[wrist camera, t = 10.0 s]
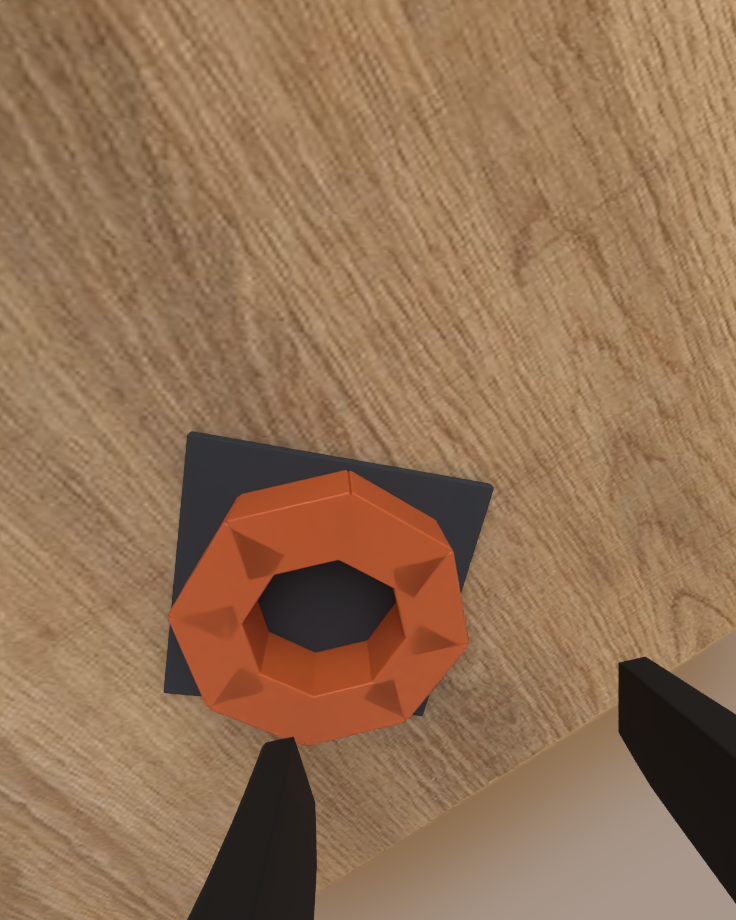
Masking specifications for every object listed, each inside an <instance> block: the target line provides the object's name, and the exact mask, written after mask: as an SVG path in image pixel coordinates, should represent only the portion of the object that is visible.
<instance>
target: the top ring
mask: <svg viewBox="0 0 736 920" xmlns="http://www.w3.org/2000/svg"><path fill="white" fill-rule="evenodd" d="M335 560H340V561H342V562H344V563H346V564H348V565H350V566H352V567H354V568H356V569H358V570H360V571H362V572H364V573H365V574H367V575H369V576H371V577H373V578H375V579H377V580H379V581H381V582H383V583H385V584H387V585H389V586H391V587H392V588H393V591H394V596H395V600H396V603H395V604H394V605H393V607H392V608H391V609H390V611H389V612H388V614H387V615H386V616H385V618H384V619H383V620H382V622H381V623H380V624H379V626H378V627H377V628H376V630H375V631H374V632H373V634H372V635H371V636H370V638H369V639H368V640H367V641H362V642H358V643H354V644H350V645H346V646H341V647H337V648H333V649H329V650H325V651H321V652H316V653H315V652H313V651H311V650H308V649H306V648H304V647H302V646H300V645H297V644H295V643H293V642H291V641H288V640H286V639H284V638H282V637H280V636H277V635H275V634H273V633H271V632H269V631H268V628H267V625H266V623H265V620H264V617H263V614H262V611H261V608H260V605H259V603H258V599H259V597H260V596H261V594H262V593H263V591H264V590H265V588H266V586H267V585H268V583H269V582H270V580H271V579H272V577H273V576H274V575H276V574H280V573H284V572H289V571H293V570H297V569H301V568H306V567H310V566H314V565H318V564H323V563H327V562H331V561H335ZM168 616H169V622H170V625H171V627H172V629H173V631H174V634H175V636H176V638H177V641H178V643H179V645H180V647H181V650H182V652H183V654H184V657H185V659H186V661H187V663H188V666H189V668H190V670H191V673H192V675H193V677H194V679H195V682H196V684H197V686H198V689H199V691H200V693H201V695H202V698H203V700H204V702H205V705H206V706H207V707H209V709H210V710H213V711H215V712H218V713H220V714H223V715H225V716H228V717H230V718H233V719H236V720H238V721H241V722H243V723H246V724H248V725H251V726H254V727H256V728H259V729H261V730H264V731H266V732H269V733H272V734H274V735H277V736H279V737H282V738H289V737H293V736H294V739H295V742H296V743H297V744H300V745H304V744H306V746H309V745H313V744H317V743H321V742H325V741H329V740H334V739H338V738H342V737H346V736H350V735H354V734H358V733H362V732H367V731H371V730H375V729H379V728H383V727H387V726H391V725H395V724H399V723H404V722H405V721H406V719H409V718H410V717H411V716H412V714H413V713H414V712H415V711H416V710H417V708H418V707H419V706H420V705H421V703H422V702H423V701H424V700H425V699H426V697H427V696H428V695H429V694H430V692H431V691H432V690H433V689H434V688H435V686H436V685H437V684H438V683H439V681H440V680H441V679H442V678H443V676H444V675H445V674H446V673H447V672H448V670H449V669H450V668H451V667H452V665H453V664H454V663H455V662H456V661H457V659H458V658H459V657H460V656H461V654H462V653H463V652H464V651H465V649H466V648H467V644H468V641H469V640H468V634H467V628H466V622H465V616H464V610H463V604H462V598H461V592H460V587H459V581H458V575H457V569H456V563H455V557H454V552H453V550H452V548H451V547H450V545H449V543H448V541H447V539H446V538H445V536H444V534H443V532H442V530H441V529H440V527H439V525H438V523H437V521H436V520H435V519H433V518H431V517H430V516H428V515H426V514H424V513H423V512H421V511H419V510H418V509H416V508H414V507H412V506H411V505H409V504H407V503H406V502H404V501H402V500H400V499H399V498H397V497H395V496H394V495H392V494H390V493H388V492H387V491H385V490H383V489H381V488H380V487H378V486H376V485H375V484H373V483H371V482H369V481H368V480H366V479H364V478H363V477H361V476H359V475H357V474H356V473H354V472H352V471H349V472H348V471H347V470H344V471H340V472H335V473H331V474H327V475H322V476H318V477H314V478H309V479H305V480H301V481H296V482H292V483H288V484H283V485H279V486H275V487H270V488H266V489H262V490H257V491H253V492H249V493H244V494H241V495H240V497H239V496H238V497H237V498H236V500H235V502H234V503H233V505H232V507H231V508H230V510H229V512H228V513H227V515H226V517H225V518H224V520H223V522H222V523H221V525H220V527H219V528H218V530H217V532H216V533H215V535H214V537H213V538H212V540H211V542H210V543H209V545H208V547H207V548H206V550H205V552H204V553H203V555H202V557H201V558H200V560H199V562H198V563H197V565H196V567H195V568H194V570H193V572H192V574H191V575H190V577H189V579H188V580H187V582H186V584H185V586H184V587H183V589H182V591H181V593H180V594H179V596H178V598H177V600H176V602H175V603H174V605H173V607H172V609H171V610H170V612H169V614H168Z"/></svg>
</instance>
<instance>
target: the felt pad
mask: <svg viewBox="0 0 736 920" xmlns="http://www.w3.org/2000/svg"><path fill="white" fill-rule="evenodd" d="M344 470H347V471H348V472H349V471H352V472H354V473H356V474H357V475H359V476H361V477H363V478H364V479H366V480H368V481H369V482H371V483H373V484H375V485H376V486H378V487H380V488H381V489H383V490H385V491H387V492H388V493H390V494H392V495H394V496H395V497H397V498H399V499H400V500H402V501H404V502H406V503H407V504H409V505H411V506H412V507H414V508H416V509H418V510H419V511H421V512H423V513H424V514H426V515H428V516H430V517H431V518H433V519H435V520H436V521H437V523H438V525H439V527H440V529H441V530H442V532H443V534H444V536H445V538H446V539H447V541H448V543H449V545H450V547H451V548H452V550H453V552H454V557H455V563H456V569H457V575H458V581H459V587H460V592H461V591H462V588H463V585H464V582H465V578H466V575H467V572H468V569H469V566H470V562H471V559H472V556H473V553H474V550H475V546H476V543H477V540H478V537H479V534H480V530H481V527H482V524H483V521H484V518H485V515H486V511H487V508H488V505H489V502H490V499H491V495H492V492H493V489H494V487H493V486H492V485H491V484H489V483H483V482H477V481H472V480H466V479H460V478H454V477H449V476H443V475H437V474H432V473H426V472H420V471H415V470H409V469H403V468H398V467H392V466H386V465H380V464H375V463H369V462H363V461H358V460H352V459H346V458H341V457H335V456H329V455H324V454H318V453H312V452H306V451H301V450H295V449H289V448H284V447H278V446H272V445H267V444H261V443H255V442H250V441H244V440H238V439H232V438H227V437H221V436H215V435H210V434H204V433H198V432H193V431H192V432H190V433H189V434H188V435H187V444H186V455H185V466H184V477H183V488H182V498H181V509H180V520H179V531H178V542H177V553H176V564H175V575H174V585H173V596H172V607H173V605H174V603H175V602H176V600H177V598H178V596H179V594H180V593H181V591H182V589H183V587H184V586H185V584H186V582H187V580H188V579H189V577H190V575H191V574H192V572H193V570H194V568H195V567H196V565H197V563H198V562H199V560H200V558H201V557H202V555H203V553H204V552H205V550H206V548H207V547H208V545H209V543H210V542H211V540H212V538H213V537H214V535H215V533H216V532H217V530H218V528H219V527H220V525H221V523H222V522H223V520H224V518H225V517H226V515H227V513H228V512H229V510H230V508H231V507H232V505H233V503H234V502H235V500H236V498H237V497H238V496H239V497H240V495H241V494H244V493H249V492H253V491H257V490H262V489H266V488H270V487H275V486H279V485H283V484H288V483H292V482H296V481H301V480H305V479H309V478H314V477H318V476H322V475H327V474H331V473H335V472H340V471H344ZM258 603H259V605H260V608H261V611H262V614H263V617H264V620H265V623H266V625H267V628H268V631H269V632H271V633H273V634H275V635H277V636H280V637H282V638H284V639H286V640H288V641H291V642H293V643H295V644H297V645H300V646H302V647H304V648H306V649H308V650H311V651H313V652H315V653H316V652H321V651H325V650H329V649H333V648H337V647H341V646H346V645H350V644H354V643H358V642H362V641H367V640H368V639H369V638H370V636H371V635H372V634H373V632H374V631H375V630H376V628H377V627H378V626H379V624H380V623H381V622H382V620H383V619H384V618H385V616H386V615H387V614H388V612H389V611H390V609H391V608H392V607H393V605H394V604H395V603H396V600H395V596H394V591H393V588H392V587H391V586H389V585H387V584H385V583H383V582H381V581H379V580H377V579H375V578H373V577H371V576H369V575H367V574H365V573H364V572H362V571H360V570H358V569H356V568H354V567H352V566H350V565H348V564H346V563H344V562H342V561H340V560H335V561H331V562H327V563H323V564H318V565H314V566H310V567H306V568H301V569H297V570H293V571H289V572H284V573H280V574H276V575H274V576H273V577H272V579H271V580H270V582H269V583H268V585H267V586H266V588H265V590H264V591H263V593H262V594H261V596H260V597H259V599H258ZM172 607H171V609H172ZM164 693H170V694H181V695H193V696H202V695H201V693H200V691H199V689H198V686H197V684H196V682H195V679H194V677H193V675H192V673H191V670H190V668H189V666H188V663H187V661H186V659H185V657H184V654H183V652H182V650H181V647H180V645H179V643H178V641H177V638H176V636H175V634H174V631H173V629H172V627H171V625H170V629H169V640H168V651H167V661H166V672H165V683H164ZM428 697H429V695H428V696H427V697H426V699H425V700H424V701H423V702H422V703H421V705H420V706H419V707H418V708H417V710H416V711H415V712H414V713H413V714H412V715H417V716H422V715H423V713H424V709H425V706H426V703H427V700H428Z"/></svg>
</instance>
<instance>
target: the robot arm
mask: <svg viewBox="0 0 736 920" xmlns="http://www.w3.org/2000/svg"><path fill="white" fill-rule="evenodd" d="M619 734H620V736H621V737H622V739H623V741H624V742H625V744H626V746H627V748H628V749H629V751H630V753H631V754H632V756H633V758H634V760H635V761H636V763H637V765H638V766H639V768H640V770H641V771H642V773H643V774H644V776H645V778H646V779H647V781H648V783H649V784H650V786H651V787H652V789H653V790H654V792H655V793H656V794H657V796H658V797H659V799H660V800H661V801H662V803H663V804H664V806H665V807H666V808H667V810H668V811H669V813H670V814H671V815H672V817H673V818H674V819H675V821H676V822H677V824H678V825H679V826H680V828H681V829H682V831H683V832H684V833H685V835H686V836H687V837H688V839H689V840H690V841H691V843H692V844H693V845H694V847H695V848H696V850H697V851H698V852H699V854H700V855H701V856H702V858H703V859H704V861H705V862H706V863H707V865H708V866H709V867H710V869H711V870H712V872H713V873H714V874H715V876H716V877H717V878H718V880H719V881H720V883H721V884H722V885H723V887H724V888H725V889H726V891H727V892H728V894H729V895H730V896H731V898H732V899H733V900H734V902H735V903H736V714H734V713H733V712H731V711H729V710H728V709H726V708H725V707H723V706H722V705H720V704H718V703H717V702H715V701H714V700H712V699H711V698H709V697H708V696H706V695H704V694H703V693H701V692H700V691H698V690H697V689H695V688H693V687H692V686H690V685H689V684H687V683H686V682H684V681H683V680H681V679H680V678H678V677H676V676H674V675H673V674H672V673H670V672H669V671H667V670H666V669H664V668H662V667H661V666H659V665H658V664H656V663H655V662H653V661H651V660H650V659H648V658H647V657H642V658H637V659H633V660H629V661H624V662H620V663H619ZM316 871H317V850H316V813H315V800H314V797H313V794H312V791H311V788H310V785H309V782H308V779H307V776H306V773H305V770H304V766H303V763H302V760H301V757H300V754H299V751H298V748H297V745H296V742H295V739H294V736H293V737H289V738H284V739H280V740H276V741H271V742H267V743H265V744H264V746H263V747H262V749H261V751H260V754H259V757H258V759H257V762H256V765H255V767H254V770H253V772H252V775H251V778H250V780H249V783H248V785H247V788H246V790H245V793H244V795H243V798H242V800H241V802H240V805H239V807H238V810H237V812H236V814H235V817H234V819H233V821H232V824H231V826H230V828H229V831H228V833H227V835H226V837H225V840H224V842H223V844H222V846H221V849H220V851H219V853H218V855H217V858H216V860H215V862H214V864H213V867H212V869H211V871H210V873H209V875H208V878H207V880H206V882H205V884H204V886H203V888H202V890H201V892H200V895H199V897H198V899H197V901H196V903H195V905H194V907H193V909H192V911H191V913H190V915H189V917H188V919H187V920H314V905H315V889H316Z"/></svg>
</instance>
